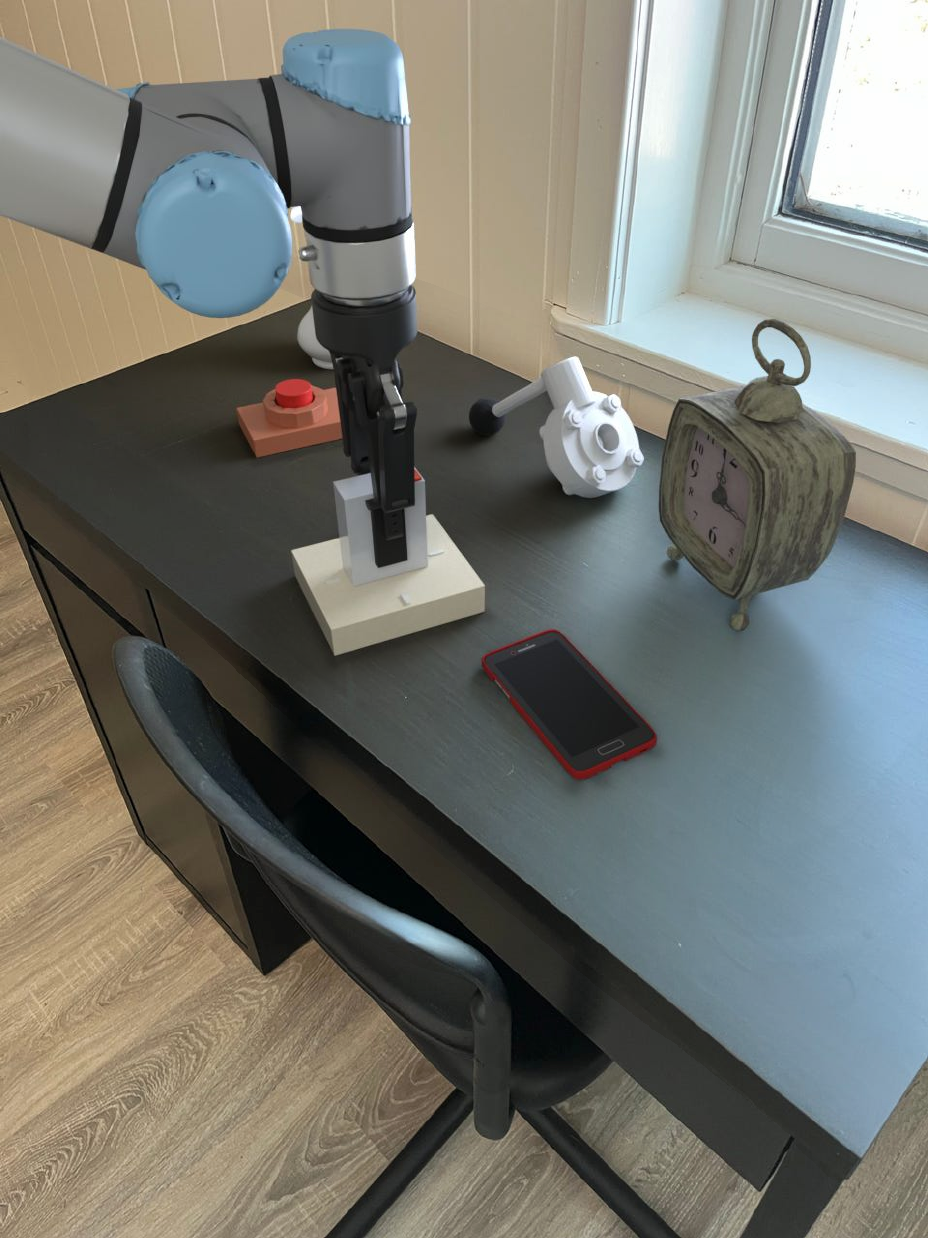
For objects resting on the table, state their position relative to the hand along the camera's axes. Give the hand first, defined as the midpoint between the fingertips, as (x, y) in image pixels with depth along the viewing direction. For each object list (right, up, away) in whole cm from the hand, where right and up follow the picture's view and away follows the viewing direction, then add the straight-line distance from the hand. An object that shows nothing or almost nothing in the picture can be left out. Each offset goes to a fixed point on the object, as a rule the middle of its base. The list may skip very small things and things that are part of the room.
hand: (383, 549), depth 83 cm
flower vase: (-9, +28, +40) cm, 50 cm away
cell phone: (+15, -13, -7) cm, 21 cm away
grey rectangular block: (0, -1, +1) cm, 2 cm away
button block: (-12, +16, +26) cm, 32 cm away
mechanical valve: (+15, +11, +20) cm, 27 cm away
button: (-12, +18, +23) cm, 32 cm away
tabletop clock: (+31, -3, +4) cm, 32 cm away
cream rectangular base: (0, -4, +3) cm, 5 cm away
